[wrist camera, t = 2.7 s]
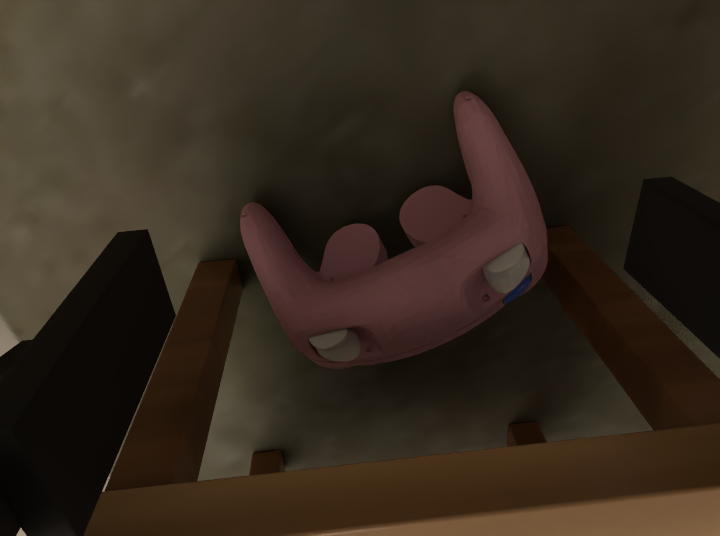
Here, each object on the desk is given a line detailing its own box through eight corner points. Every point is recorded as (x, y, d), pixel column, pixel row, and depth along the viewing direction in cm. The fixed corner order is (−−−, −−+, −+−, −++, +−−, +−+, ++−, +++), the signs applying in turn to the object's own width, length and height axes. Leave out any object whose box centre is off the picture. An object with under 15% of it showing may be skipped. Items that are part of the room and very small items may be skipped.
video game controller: (285, 259, 22) (321, 411, 18) (222, 201, 18) (251, 379, 14) (497, 155, 20) (587, 299, 16) (477, 67, 16) (589, 228, 12)
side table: (182, 252, 19) (30, 567, 9) (582, 212, 20) (867, 471, 10) (249, 477, 27) (206, 794, 16) (541, 445, 27) (678, 735, 17)
